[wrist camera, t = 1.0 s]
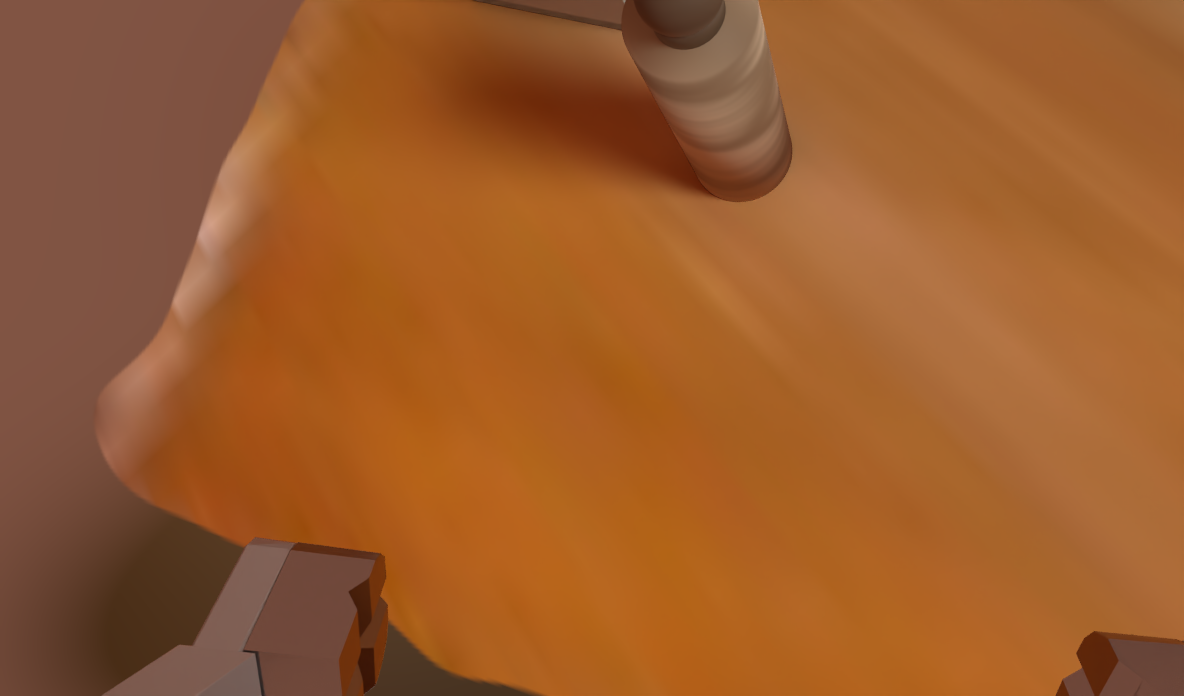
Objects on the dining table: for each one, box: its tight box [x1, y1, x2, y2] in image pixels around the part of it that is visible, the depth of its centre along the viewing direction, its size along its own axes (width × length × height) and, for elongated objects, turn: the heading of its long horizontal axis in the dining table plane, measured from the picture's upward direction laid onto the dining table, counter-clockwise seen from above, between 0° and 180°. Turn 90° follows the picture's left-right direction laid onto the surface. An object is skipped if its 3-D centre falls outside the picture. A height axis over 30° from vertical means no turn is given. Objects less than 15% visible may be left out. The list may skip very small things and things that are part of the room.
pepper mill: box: [621, 0, 792, 202], centre depth 36 cm, size 4×4×16 cm
